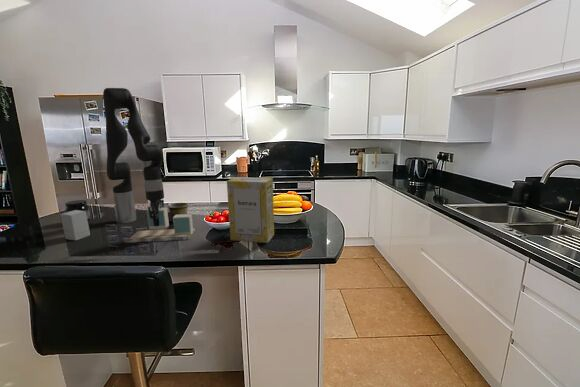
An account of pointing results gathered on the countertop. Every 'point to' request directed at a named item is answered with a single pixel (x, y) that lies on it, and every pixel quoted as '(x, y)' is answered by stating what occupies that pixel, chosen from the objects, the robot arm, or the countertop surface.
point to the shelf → (156, 236)
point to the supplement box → (75, 225)
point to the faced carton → (183, 224)
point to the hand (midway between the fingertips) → (158, 223)
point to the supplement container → (78, 207)
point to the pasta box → (251, 209)
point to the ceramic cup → (178, 209)
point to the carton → (162, 219)
